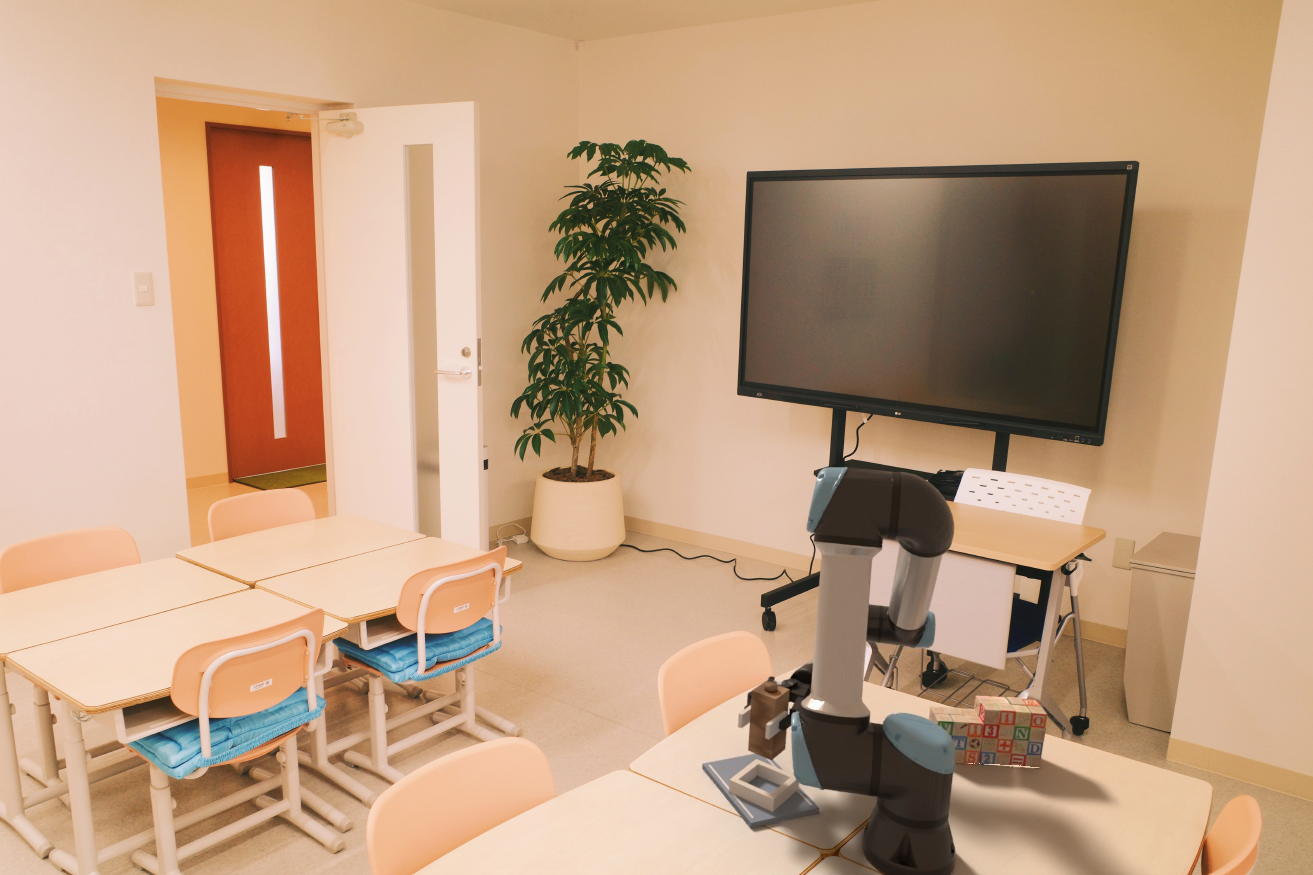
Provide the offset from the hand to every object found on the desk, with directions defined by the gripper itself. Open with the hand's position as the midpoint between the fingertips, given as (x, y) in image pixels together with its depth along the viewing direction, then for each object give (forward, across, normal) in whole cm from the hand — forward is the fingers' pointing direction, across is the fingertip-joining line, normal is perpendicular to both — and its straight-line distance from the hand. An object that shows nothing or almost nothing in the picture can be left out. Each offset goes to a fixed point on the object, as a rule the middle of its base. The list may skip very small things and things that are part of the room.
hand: (753, 725), depth 158 cm
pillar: (-5, 0, -7) cm, 9 cm away
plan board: (-6, +2, -16) cm, 17 cm away
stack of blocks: (-46, -27, -17) cm, 56 cm away
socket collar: (-5, 0, -16) cm, 17 cm away
